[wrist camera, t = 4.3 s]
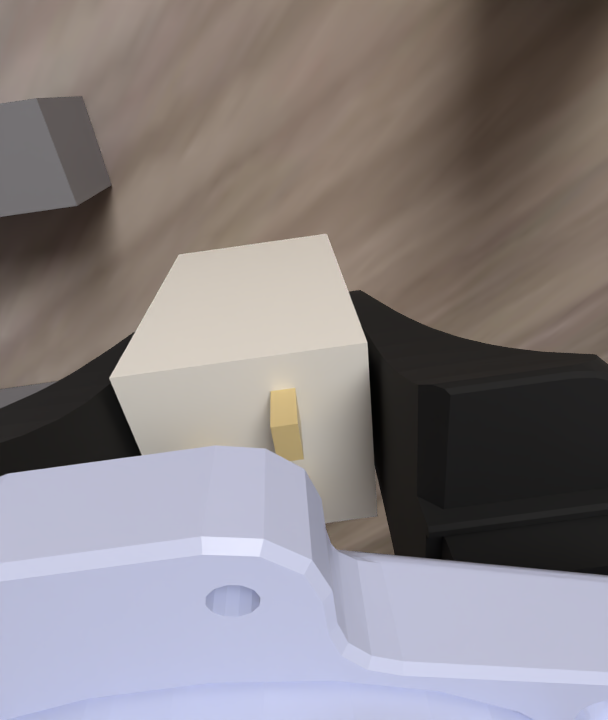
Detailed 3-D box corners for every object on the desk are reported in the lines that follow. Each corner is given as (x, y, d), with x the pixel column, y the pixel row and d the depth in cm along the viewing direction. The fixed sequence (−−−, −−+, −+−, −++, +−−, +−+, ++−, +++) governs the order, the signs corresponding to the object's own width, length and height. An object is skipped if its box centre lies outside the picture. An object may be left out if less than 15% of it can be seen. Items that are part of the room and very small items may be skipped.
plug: (339, 360, 14) (389, 566, 8) (213, 377, 14) (167, 595, 8) (326, 233, 12) (382, 382, 6) (178, 254, 12) (83, 423, 6)
